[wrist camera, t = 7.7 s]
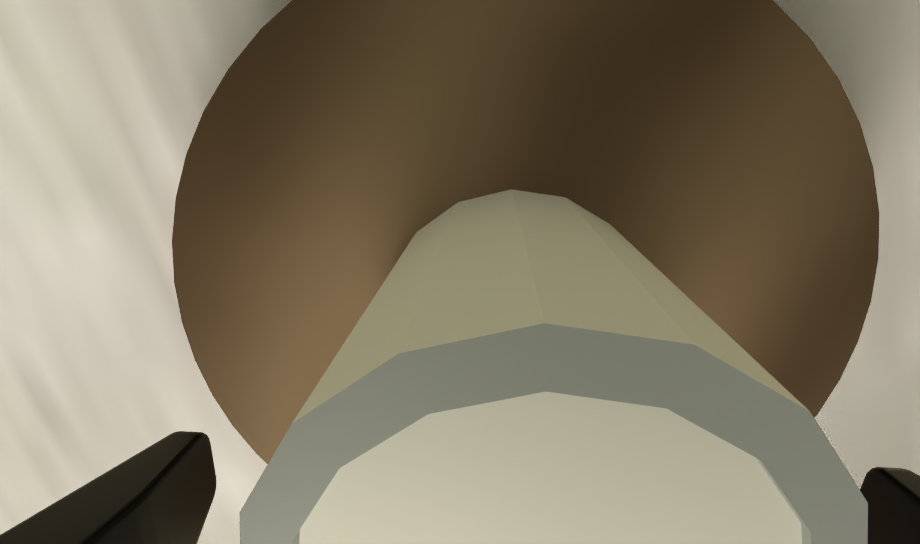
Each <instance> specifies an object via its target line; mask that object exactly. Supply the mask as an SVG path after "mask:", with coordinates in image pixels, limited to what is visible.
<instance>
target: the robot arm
mask: <svg viewBox="0 0 920 544" xmlns="http://www.w3.org/2000/svg"><path fill="white" fill-rule="evenodd" d="M215 490H216V475H215V469H214V463H213V457H212V451H211V445H210V441H209V438H208V436H207V435H206V434H204V433H202V432H184V431H179V432H174V433H172V434H170V435H168V436H167V437H165V438H163V439H162V440H160V441H158V442H157V443H155V444H153V445H152V446H150V447H148V448H146V449H145V450H143V451H141V452H140V453H138V454H136V455H135V456H133V457H131V458H130V459H128V460H126V461H125V462H123V463H121V464H119V465H118V466H116V467H114V468H113V469H111V470H109V471H108V472H106V473H104V474H103V475H101V476H99V477H97V478H96V479H94V480H92V481H91V482H89V483H87V484H86V485H84V486H82V487H81V488H79V489H77V490H76V491H74V492H72V493H70V494H69V495H67V496H65V497H64V498H62V499H60V500H59V501H57V502H55V503H54V504H52V505H50V506H48V507H47V508H45V509H43V510H42V511H40V512H38V513H37V514H35V515H33V516H32V517H30V518H28V519H27V520H25V521H23V522H21V523H20V524H18V525H16V526H15V527H13V528H11V529H10V530H8V531H6V532H5V533H3V534H1V535H0V544H197V542H198V539H199V536H200V533H201V531H202V528H203V525H204V523H205V520H206V517H207V514H208V512H209V509H210V506H211V503H212V501H213V498H214V495H215ZM860 491H861V493H862V494H863V496H864V498H865V499H866V501H867V502H868V544H920V476H919V475H917V474H915V473H913V472H911V471H909V470H906V469H902V468H885V467H876V468H872V469H871V470H870V471H869V472H868V473H867V474H866V476H865V479H864V481H863V484H862V486H861V489H860Z"/></svg>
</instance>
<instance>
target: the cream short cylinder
mask: <svg viewBox="0 0 920 544" xmlns="http://www.w3.org/2000/svg"><path fill="white" fill-rule="evenodd" d="M240 544H868V502H867V501H866V499H865V498H864V496H863V494H862V493H861V491H860V490H859V488H858V487H857V485H856V483H855V482H854V480H853V479H852V477H851V475H850V474H849V472H848V471H847V469H846V468H845V466H844V464H843V463H842V461H841V460H840V458H839V457H838V455H837V453H836V452H835V450H834V449H833V447H832V445H831V444H830V442H829V441H828V439H827V438H826V436H825V434H824V433H823V431H822V430H821V428H820V426H819V425H818V423H817V422H816V420H815V419H814V417H813V415H812V414H811V412H810V411H809V410H808V409H807V408H806V407H805V406H804V405H803V404H802V403H800V402H799V401H798V400H797V399H796V398H795V397H794V396H793V395H792V394H791V393H790V392H789V391H788V390H787V389H785V388H784V387H783V386H782V385H781V384H780V383H779V382H778V381H777V380H776V379H775V378H774V377H773V376H772V375H771V374H769V373H768V372H767V371H766V370H765V369H764V368H763V367H762V366H761V365H760V364H759V363H758V362H757V361H756V360H754V359H753V358H752V357H751V356H750V355H749V354H748V353H747V352H746V351H745V350H744V349H743V348H742V347H741V346H740V345H738V344H737V343H736V342H735V341H734V340H733V339H732V338H731V337H730V336H729V335H728V334H727V333H726V332H725V331H724V330H722V329H721V328H720V327H719V326H718V325H717V324H716V323H715V322H714V321H713V320H712V319H711V318H710V317H709V316H707V315H706V314H705V313H704V312H703V311H702V310H701V309H700V308H699V307H698V306H697V305H696V304H695V303H694V302H693V301H691V300H690V299H689V298H688V297H687V296H686V295H685V294H684V293H683V292H682V291H681V290H680V289H679V288H678V287H676V286H675V285H674V284H673V283H672V282H671V281H670V280H669V279H668V278H667V277H666V276H665V275H664V274H663V273H662V272H660V271H659V270H658V269H657V268H656V267H655V266H654V265H653V264H652V263H651V262H650V261H649V260H648V259H647V258H646V257H644V256H643V255H642V254H641V253H640V252H639V251H638V250H637V249H636V248H635V247H634V246H633V245H632V244H631V243H629V242H628V241H627V240H626V239H625V238H624V237H623V236H622V235H621V234H620V233H619V232H618V231H617V230H616V229H615V228H613V227H612V226H611V225H610V224H609V223H607V222H605V221H604V220H602V219H600V218H599V217H597V216H595V215H594V214H592V213H590V212H589V211H587V210H586V209H584V208H582V207H581V206H579V205H577V204H576V203H574V202H572V201H571V200H569V199H567V198H566V197H560V196H553V195H546V194H539V193H533V192H526V191H519V190H512V189H511V190H506V191H502V192H498V193H494V194H490V195H486V196H482V197H477V198H473V199H469V200H465V201H461V202H458V203H456V204H455V205H454V206H452V207H451V208H449V209H448V210H447V211H445V212H444V213H442V214H441V215H440V216H438V217H437V218H435V219H434V220H433V221H431V222H430V223H429V224H427V225H426V226H424V227H423V228H422V229H420V230H419V231H417V232H416V233H415V235H414V236H413V238H412V239H411V241H410V243H409V244H408V246H407V247H406V249H405V250H404V252H403V253H402V255H401V256H400V258H399V259H398V261H397V263H396V264H395V266H394V267H393V269H392V270H391V272H390V273H389V275H388V276H387V278H386V279H385V281H384V283H383V284H382V286H381V287H380V289H379V290H378V292H377V293H376V295H375V296H374V298H373V299H372V301H371V302H370V304H369V306H368V307H367V309H366V310H365V312H364V313H363V315H362V316H361V318H360V319H359V321H358V322H357V324H356V326H355V327H354V329H353V330H352V332H351V333H350V335H349V336H348V338H347V339H346V341H345V342H344V344H343V345H342V347H341V349H340V350H339V352H338V353H337V355H336V356H335V358H334V359H333V361H332V362H331V364H330V365H329V367H328V369H327V370H326V372H325V373H324V375H323V376H322V378H321V379H320V381H319V382H318V384H317V385H316V387H315V389H314V390H313V392H312V393H311V395H310V396H309V398H308V399H307V401H306V402H305V404H304V405H303V407H302V408H301V410H300V412H299V413H298V415H297V416H296V418H295V419H294V421H293V422H292V424H291V426H290V427H289V429H288V431H287V432H286V434H285V436H284V438H283V439H282V441H281V443H280V444H279V446H278V448H277V450H276V451H275V453H274V455H273V456H272V458H271V460H270V462H269V463H268V465H267V467H266V468H265V470H264V472H263V474H262V475H261V477H260V479H259V480H258V482H257V484H256V486H255V487H254V489H253V491H252V492H251V494H250V496H249V498H248V499H247V501H246V503H245V504H244V506H243V508H242V510H241V511H240Z"/></svg>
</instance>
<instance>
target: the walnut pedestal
mask: <svg viewBox="0 0 920 544" xmlns="http://www.w3.org/2000/svg"><path fill="white" fill-rule="evenodd" d="M511 189H512V190H519V191H526V192H533V193H539V194H546V195H553V196H560V197H566V198H567V199H569V200H571V201H572V202H574V203H576V204H577V205H579V206H581V207H582V208H584V209H586V210H587V211H589V212H590V213H592V214H594V215H595V216H597V217H599V218H600V219H602V220H604V221H605V222H607V223H609V224H610V225H611V226H612V227H613V228H615V229H616V230H617V231H618V232H619V233H620V234H621V235H622V236H623V237H624V238H625V239H626V240H627V241H628V242H629V243H631V244H632V245H633V246H634V247H635V248H636V249H637V250H638V251H639V252H640V253H641V254H642V255H643V256H644V257H646V258H647V259H648V260H649V261H650V262H651V263H652V264H653V265H654V266H655V267H656V268H657V269H658V270H659V271H660V272H662V273H663V274H664V275H665V276H666V277H667V278H668V279H669V280H670V281H671V282H672V283H673V284H674V285H675V286H676V287H678V288H679V289H680V290H681V291H682V292H683V293H684V294H685V295H686V296H687V297H688V298H689V299H690V300H691V301H693V302H694V303H695V304H696V305H697V306H698V307H699V308H700V309H701V310H702V311H703V312H704V313H705V314H706V315H707V316H709V317H710V318H711V319H712V320H713V321H714V322H715V323H716V324H717V325H718V326H719V327H720V328H721V329H722V330H724V331H725V332H726V333H727V334H728V335H729V336H730V337H731V338H732V339H733V340H734V341H735V342H736V343H737V344H738V345H740V346H741V347H742V348H743V349H744V350H745V351H746V352H747V353H748V354H749V355H750V356H751V357H752V358H753V359H754V360H756V361H757V362H758V363H759V364H760V365H761V366H762V367H763V368H764V369H765V370H766V371H767V372H768V373H769V374H771V375H772V376H773V377H774V378H775V379H776V380H777V381H778V382H779V383H780V384H781V385H782V386H783V387H784V388H785V389H787V390H788V391H789V392H790V393H791V394H792V395H793V396H794V397H795V398H796V399H797V400H798V401H799V402H800V403H802V404H803V405H804V406H805V407H806V408H807V409H808V410H809V411H810V412H811V414H812V415H813V417H815V416H816V415H817V414H818V412H819V411H820V409H821V408H822V406H823V405H824V403H825V402H826V400H827V398H828V397H829V395H830V394H831V392H832V391H833V389H834V388H835V386H836V384H837V383H838V381H839V380H840V378H841V376H842V374H843V372H844V370H845V367H846V365H847V363H848V361H849V359H850V357H851V355H852V353H853V351H854V349H855V346H856V344H857V342H858V340H859V336H860V333H861V330H862V327H863V324H864V321H865V318H866V314H867V311H868V308H869V305H870V302H871V297H872V291H873V285H874V279H875V274H876V268H877V262H878V242H879V209H878V201H877V194H876V186H875V179H874V171H873V166H872V163H871V159H870V156H869V153H868V149H867V146H866V143H865V139H864V136H863V133H862V129H861V126H860V123H859V120H858V118H857V116H856V114H855V112H854V110H853V108H852V106H851V104H850V102H849V100H848V98H847V96H846V94H845V92H844V90H843V87H842V85H841V83H840V81H839V79H838V78H837V76H836V75H835V73H834V72H833V70H832V69H831V68H830V66H829V65H828V63H827V62H826V61H825V59H824V58H823V56H822V55H821V53H820V52H819V51H818V49H817V48H816V46H815V45H814V43H813V42H812V41H811V39H810V38H809V37H808V36H807V35H806V34H805V33H804V32H803V30H802V29H801V28H800V27H799V26H798V25H797V24H796V23H795V22H794V21H793V20H792V19H791V18H790V17H789V16H788V15H787V14H786V13H785V12H784V11H783V10H782V9H781V8H780V7H779V6H778V5H777V4H776V3H775V2H774V1H773V0H292V1H291V2H290V3H289V4H288V5H287V6H286V7H285V8H284V9H283V10H281V11H280V12H279V13H278V14H277V15H276V16H275V17H274V18H273V19H272V20H270V21H269V22H268V23H267V24H266V25H265V26H264V27H263V28H262V29H261V30H260V31H259V32H258V33H257V35H256V36H255V37H254V38H253V39H252V41H251V42H250V43H249V44H248V46H247V47H246V48H245V49H244V51H243V52H242V53H241V54H240V55H239V57H238V58H237V59H236V60H235V62H234V63H233V64H232V65H231V67H230V68H229V69H228V71H227V72H226V74H225V76H224V78H223V79H222V81H221V83H220V84H219V86H218V88H217V89H216V91H215V93H214V95H213V96H212V98H211V100H210V101H209V103H208V105H207V106H206V108H205V110H204V112H203V114H202V117H201V119H200V122H199V124H198V127H197V129H196V132H195V134H194V137H193V139H192V142H191V144H190V147H189V149H188V152H187V154H186V158H185V162H184V166H183V171H182V175H181V179H180V183H179V187H178V192H177V196H176V203H175V215H174V226H173V237H172V247H173V265H174V283H175V288H176V293H177V298H178V303H179V308H180V313H181V319H182V323H183V326H184V329H185V332H186V335H187V338H188V341H189V344H190V346H191V349H192V352H193V355H194V358H195V361H196V363H197V365H198V367H199V369H200V371H201V373H202V375H203V377H204V379H205V381H206V383H207V385H208V387H209V389H210V391H211V393H212V395H213V396H214V398H215V399H216V401H217V402H218V404H219V405H220V407H221V408H222V410H223V411H224V413H225V414H226V416H227V418H228V419H229V421H230V422H231V424H232V425H233V426H234V428H235V429H236V430H237V431H238V432H239V433H240V435H241V436H242V437H243V438H244V439H245V441H246V442H247V443H248V444H249V445H250V446H251V448H252V449H253V450H254V451H255V452H256V453H257V455H259V456H260V457H261V458H262V459H263V460H264V461H265V462H266V463H267V464H268V463H269V462H270V460H271V458H272V456H273V455H274V453H275V451H276V450H277V448H278V446H279V444H280V443H281V441H282V439H283V438H284V436H285V434H286V432H287V431H288V429H289V427H290V426H291V424H292V422H293V421H294V419H295V418H296V416H297V415H298V413H299V412H300V410H301V408H302V407H303V405H304V404H305V402H306V401H307V399H308V398H309V396H310V395H311V393H312V392H313V390H314V389H315V387H316V385H317V384H318V382H319V381H320V379H321V378H322V376H323V375H324V373H325V372H326V370H327V369H328V367H329V365H330V364H331V362H332V361H333V359H334V358H335V356H336V355H337V353H338V352H339V350H340V349H341V347H342V345H343V344H344V342H345V341H346V339H347V338H348V336H349V335H350V333H351V332H352V330H353V329H354V327H355V326H356V324H357V322H358V321H359V319H360V318H361V316H362V315H363V313H364V312H365V310H366V309H367V307H368V306H369V304H370V302H371V301H372V299H373V298H374V296H375V295H376V293H377V292H378V290H379V289H380V287H381V286H382V284H383V283H384V281H385V279H386V278H387V276H388V275H389V273H390V272H391V270H392V269H393V267H394V266H395V264H396V263H397V261H398V259H399V258H400V256H401V255H402V253H403V252H404V250H405V249H406V247H407V246H408V244H409V243H410V241H411V239H412V238H413V236H414V235H415V233H416V232H417V231H419V230H420V229H422V228H423V227H424V226H426V225H427V224H429V223H430V222H431V221H433V220H434V219H435V218H437V217H438V216H440V215H441V214H442V213H444V212H445V211H447V210H448V209H449V208H451V207H452V206H454V205H455V204H456V203H458V202H461V201H465V200H469V199H473V198H477V197H482V196H486V195H490V194H494V193H498V192H502V191H506V190H511Z"/></svg>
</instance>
